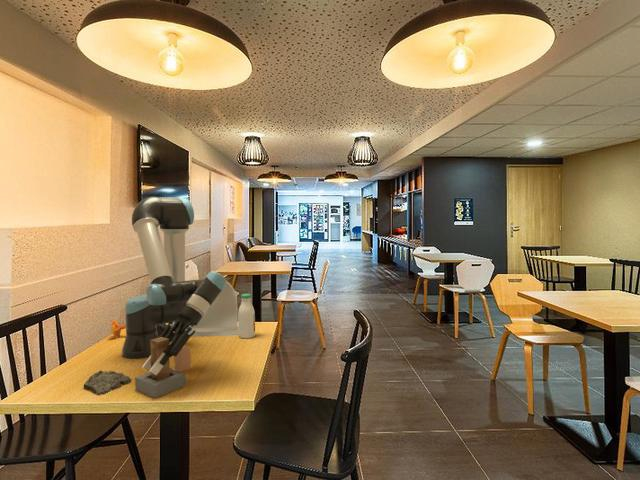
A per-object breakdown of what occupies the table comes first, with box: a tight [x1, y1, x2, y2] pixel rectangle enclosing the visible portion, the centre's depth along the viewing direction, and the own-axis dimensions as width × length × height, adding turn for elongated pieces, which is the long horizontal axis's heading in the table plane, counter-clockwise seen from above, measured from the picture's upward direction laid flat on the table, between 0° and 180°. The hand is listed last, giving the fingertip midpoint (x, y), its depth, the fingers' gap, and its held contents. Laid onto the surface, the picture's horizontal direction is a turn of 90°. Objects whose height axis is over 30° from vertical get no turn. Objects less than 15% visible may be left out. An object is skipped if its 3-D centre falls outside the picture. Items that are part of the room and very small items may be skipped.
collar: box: [134, 367, 187, 399], centre depth 126 cm, size 11×11×4 cm
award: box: [190, 277, 239, 338], centre depth 187 cm, size 28×9×28 cm, turn 94°
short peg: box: [173, 344, 192, 373], centre depth 142 cm, size 4×4×8 cm
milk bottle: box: [237, 293, 256, 339], centre depth 182 cm, size 8×8×20 cm
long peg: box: [150, 336, 171, 381], centre depth 126 cm, size 4×4×14 cm
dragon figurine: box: [110, 319, 168, 339], centre depth 184 cm, size 10×12×25 cm
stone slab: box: [83, 370, 132, 396], centre depth 130 cm, size 12×17×3 cm
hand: (149, 371), depth 123 cm, fingers closed on long peg, 4 cm apart
